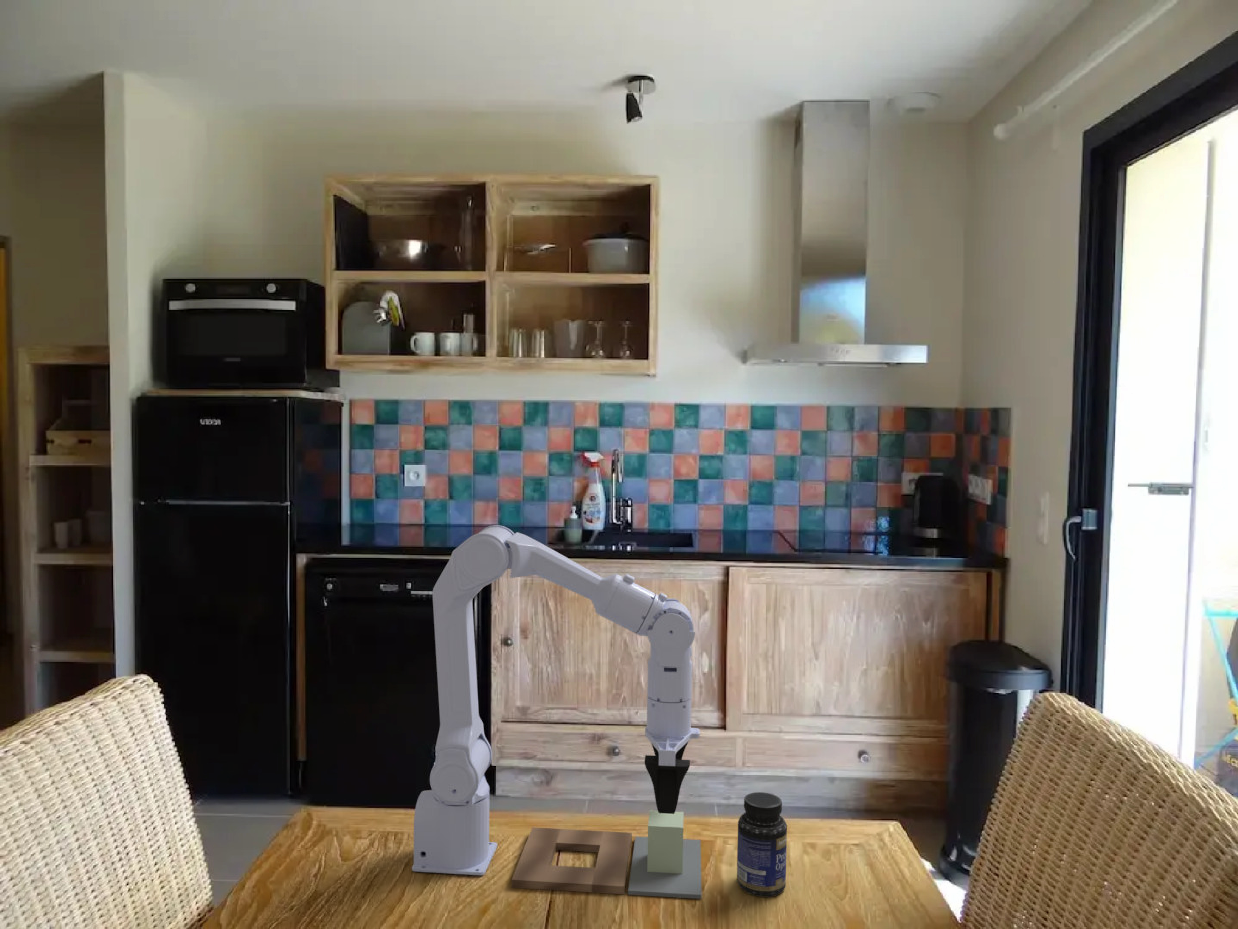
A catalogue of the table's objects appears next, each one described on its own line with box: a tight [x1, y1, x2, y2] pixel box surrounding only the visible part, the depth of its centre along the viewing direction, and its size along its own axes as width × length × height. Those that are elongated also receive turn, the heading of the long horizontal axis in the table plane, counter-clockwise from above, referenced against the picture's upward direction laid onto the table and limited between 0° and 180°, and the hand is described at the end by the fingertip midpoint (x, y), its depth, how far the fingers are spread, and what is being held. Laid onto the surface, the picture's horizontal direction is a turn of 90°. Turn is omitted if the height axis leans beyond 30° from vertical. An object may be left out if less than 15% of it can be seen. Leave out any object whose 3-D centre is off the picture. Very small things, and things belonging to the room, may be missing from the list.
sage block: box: [647, 809, 685, 874], centre depth 113 cm, size 4×4×6 cm
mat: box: [627, 836, 703, 900], centre depth 113 cm, size 9×14×1 cm, turn 175°
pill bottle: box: [736, 791, 788, 898], centre depth 109 cm, size 6×6×11 cm
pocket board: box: [511, 827, 633, 895], centre depth 114 cm, size 14×14×1 cm
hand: (667, 799), depth 112 cm, fingers open, 7 cm apart
